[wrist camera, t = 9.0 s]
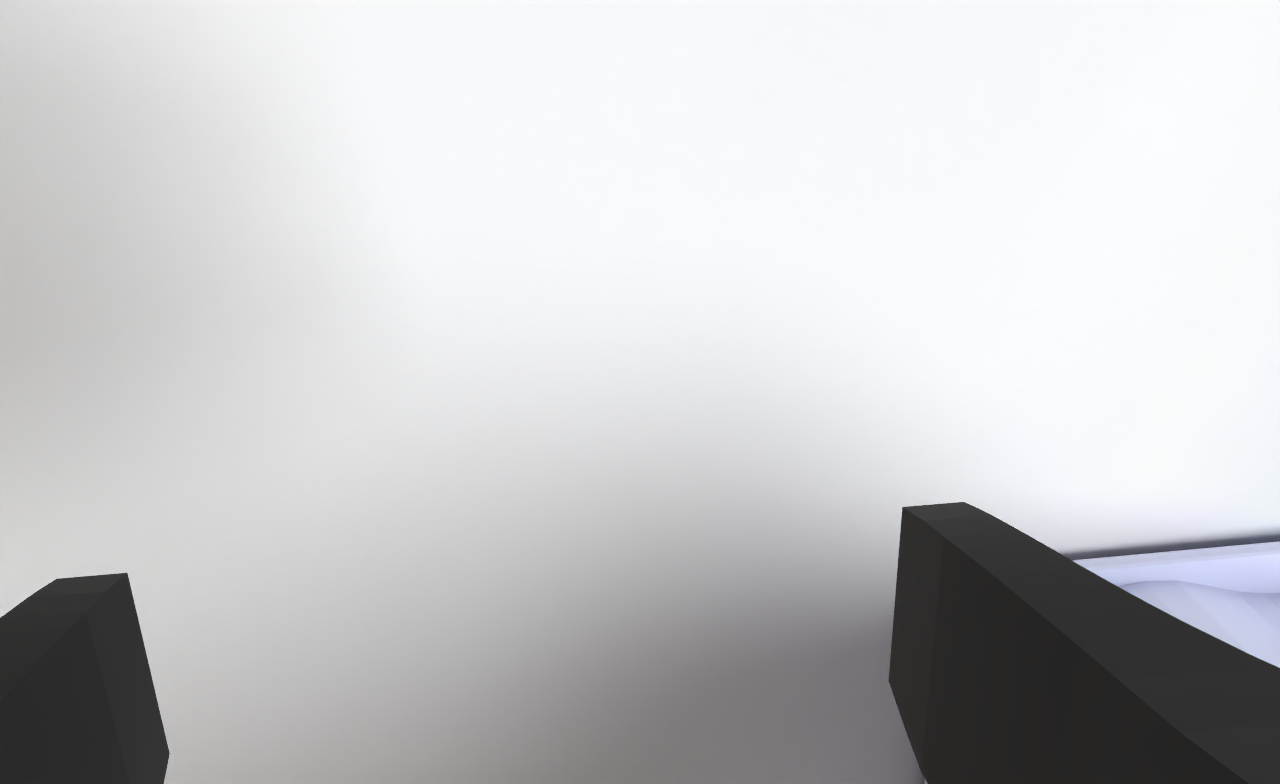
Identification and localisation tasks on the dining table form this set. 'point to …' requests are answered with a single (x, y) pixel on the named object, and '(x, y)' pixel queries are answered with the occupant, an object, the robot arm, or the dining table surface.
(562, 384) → the dining table surface
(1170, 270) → the dining table surface
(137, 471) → the dining table surface
